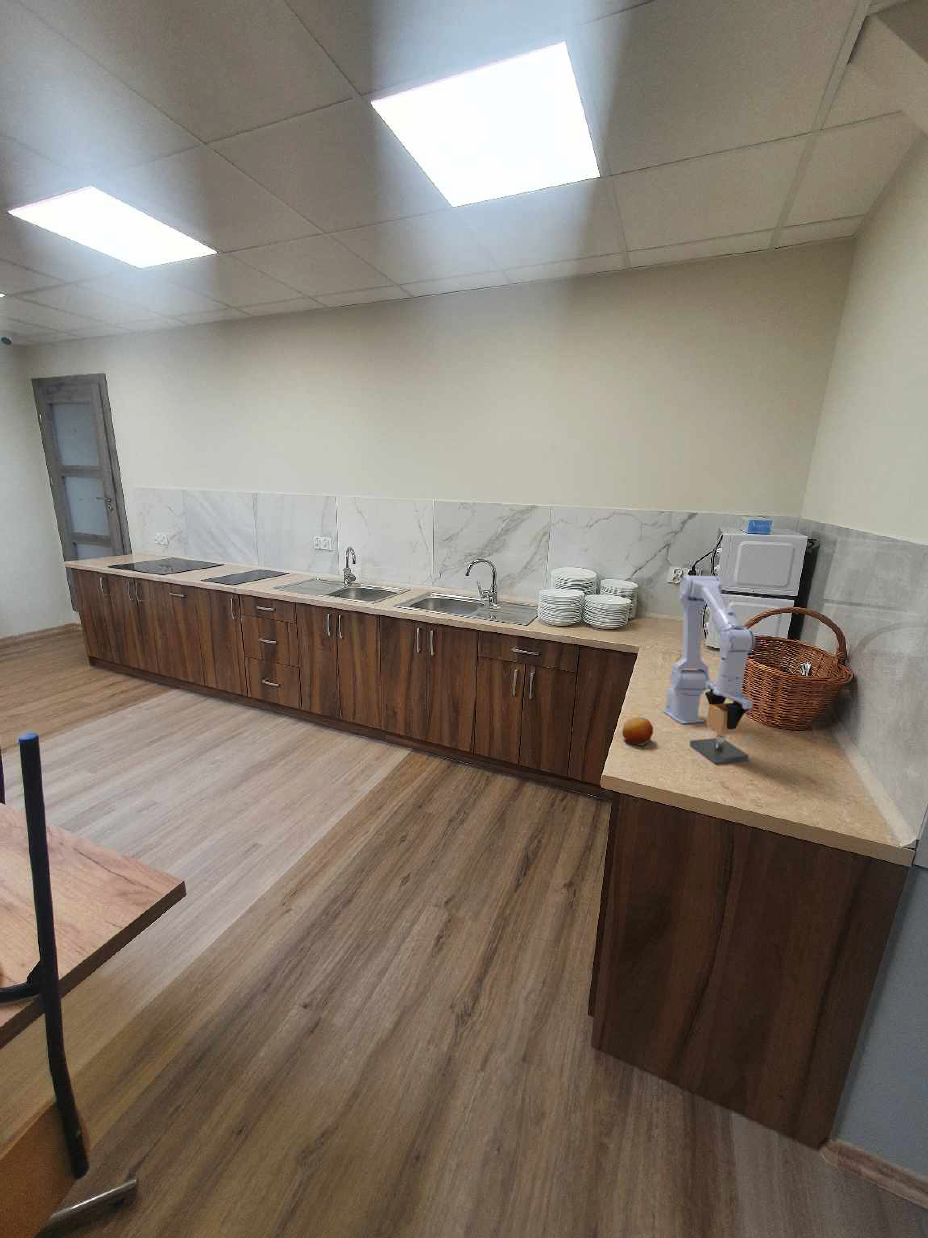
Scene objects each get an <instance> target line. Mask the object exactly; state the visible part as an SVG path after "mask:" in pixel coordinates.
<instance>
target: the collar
mask: <svg viewBox="0 0 928 1238" xmlns="http://www.w3.org/2000/svg"><path fill="white" fill-rule="evenodd" d="M727 718H728V713H727V707H726V702H724V703H723V704H711V705H709V704H708V711H707V718H706V725H705V726H706V727H708V728H709V729H711V730H712V731H714V732H716V734H717V733H719V734H720V735H722V734H726V735H729V734H732V735H733V734H739V732H740V730H739V729H740V725H741V720H742V718H741V719H740V721H739V723H738V725H737V727H736V729H728V728H727Z"/></svg>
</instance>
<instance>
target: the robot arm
mask: <svg viewBox="0 0 928 1238" xmlns="http://www.w3.org/2000/svg"><path fill="white" fill-rule="evenodd" d="M722 587H723V583H722V580H721V579H720V577H719V576H718V575H689V574H685V575H684V576H683V577H682V578H681V580H680V582H679V592H678V593H679V597H678V598H679V603H681V604H683V617H682V618H683V621H682V622H683V623H682V624H683V625H682V658H680V659H679V660H677V661H676V662H675V663H673V664H672V668H671V672H670V676H669V677H670V678H669V679H670V681H669V682H670V684H671V685H670V686H671V687H670V688H669V690H668V691H667V695H666V704H665V709H662V712H663V713H664V714H666V715H668V716H669V717H671V718H672V719H673V720H675V722H676V721H677V722H678V723H679V724H682V725H684V724H695V723H696V724H697V723H704V719H702V718H701V717H699V716H698V715H699V708H700V701H701V696H702V695H703V694H704V696H705V697H706V699H707V702H708V706H709V705H711V704H723V703H726V700H727V699H728V700H730V701H732V702H730V703H729V702H727V703H726V707H727V713H728V718H727V728H728V729H736V727H737V725H738V723H739V721H740V722H741V720H742V717H743V716H744V715H745V714H746V713H747V712H748V711H749V710H751V709H753V704H754V703H753V702H754V701H753V700H751V699H749V697H747V696H746V695H745V694H744V693H743V692H742V688H743V684H744V678H745V672H746V667H747V666H746V665H747V659H748V655H749V654H748V653H750V652H752V651H753V649H754V648H755V645H756V637H755V634H754V632H753V630H752V629H750V628H747V627H746V626H743V624H742V623H741V621H740V620H739V618H738V616H737V614H736V612H735V611H734V609H732V608H729V607H727V605H726V602H725V601H724V598H723V595H722V589H723V588H722ZM705 605H707V606H708V607H709V610H711V612H712V614H713V615H712V617H711V621H712V623H713V625H714V626H715V628H716V631H717V632H718V634H719V638H718V642H719V643H718V644H719V656H720V664H719V670H718V676H717V680H716V681H717V682H716V681H714V680H711V679H710V675H709V666H708V665H706V664H705V663H704V662H703V661H702V660H701V647H702V646H701V645H702V643H701V642H702V641H701V640H702V612H703V611H702V608H703V607H704V606H705ZM707 690H709V691H707ZM705 691H706V692H705ZM704 692H705V693H704ZM740 719H741V720H740Z"/></svg>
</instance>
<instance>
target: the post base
mask: <svg viewBox="0 0 928 1238" xmlns="http://www.w3.org/2000/svg"><path fill="white" fill-rule="evenodd" d="M726 735H727V734H722V735H720V734H719V733H717V732H716V736H715V737H713V738H706V739H693V740H690V741H689V746H690V747H691V748H692V749H694V750H695V751H696V752H698V753H699V755H702V756H703V757H705V758H706V759H707V760H709V761H710V762H711V763H713V764H714V765H720V764H721V765H722V764H730V763H731V764H732V763H738V762H748V761H749V758H750V755H749V754H747V753H746V752H745V751H744V750H741V749H740V748H739V747H737V746H735V745H734V744H733V743H731V742H730V741H727V740H726Z"/></svg>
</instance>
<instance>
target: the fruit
mask: <svg viewBox="0 0 928 1238" xmlns="http://www.w3.org/2000/svg"><path fill="white" fill-rule="evenodd" d="M621 732H622V733H621V734H622V736H623V738H624V739H625V740H626V741H627V742H628V743H629V744H632V745H637V746H638V745H639V746H643V747H644V746H645V744H646V743H648V742H649V743H651V738H652V735H653V734H654V727H653V724H652V723H651V721H650V720H649V719H648V718H646V717H642V716H641V717H640V716H637V717H633V718H630V719H627V720H626V721H625V723H624V724H623V728H622V731H621Z"/></svg>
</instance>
